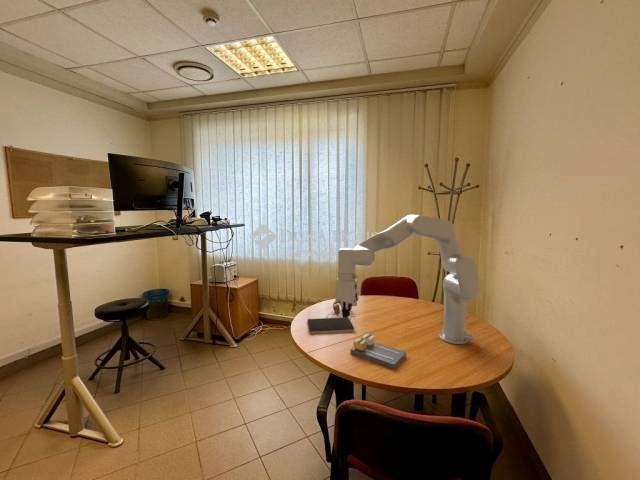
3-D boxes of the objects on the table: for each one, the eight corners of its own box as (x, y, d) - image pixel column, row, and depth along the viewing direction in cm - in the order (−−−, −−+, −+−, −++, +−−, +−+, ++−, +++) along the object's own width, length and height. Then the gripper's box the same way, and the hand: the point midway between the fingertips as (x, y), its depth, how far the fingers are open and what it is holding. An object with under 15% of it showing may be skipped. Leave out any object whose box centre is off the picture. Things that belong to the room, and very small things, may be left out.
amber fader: (366, 347, 124) (366, 339, 123) (361, 350, 120) (361, 342, 120) (358, 344, 126) (358, 336, 126) (353, 347, 123) (353, 339, 122)
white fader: (374, 342, 128) (374, 334, 127) (370, 345, 125) (370, 337, 124) (366, 339, 130) (366, 332, 130) (362, 343, 127) (362, 335, 127)
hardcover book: (354, 333, 145) (354, 328, 144) (309, 335, 142) (309, 330, 142) (348, 320, 160) (348, 316, 160) (307, 322, 158) (307, 318, 158)
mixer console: (405, 356, 120) (405, 351, 120) (394, 369, 111) (394, 364, 111) (364, 343, 132) (364, 338, 132) (350, 353, 123) (350, 348, 123)
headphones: (325, 315, 160) (329, 296, 179) (326, 323, 162) (329, 304, 181) (355, 316, 158) (356, 297, 177) (355, 324, 160) (356, 305, 178)
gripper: (365, 277, 122) (364, 318, 124) (337, 272, 132) (336, 310, 134) (357, 280, 117) (355, 323, 119) (327, 275, 126) (327, 315, 128)
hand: (345, 316), depth 126 cm, fingers closed
